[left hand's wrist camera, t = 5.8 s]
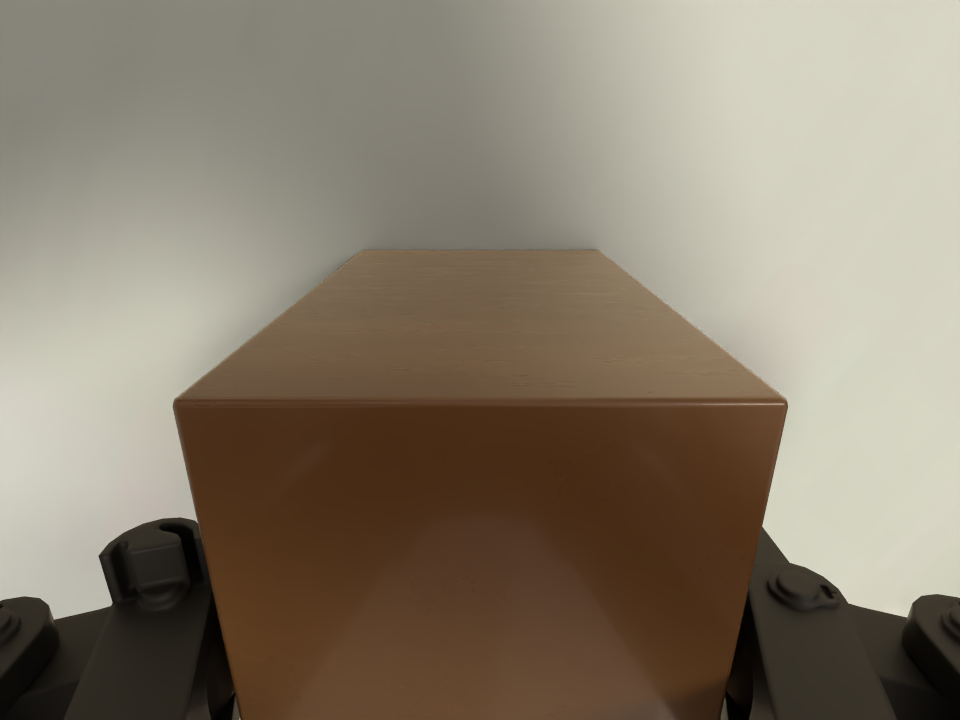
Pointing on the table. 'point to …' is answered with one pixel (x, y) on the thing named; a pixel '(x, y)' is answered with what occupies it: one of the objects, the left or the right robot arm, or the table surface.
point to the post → (480, 495)
